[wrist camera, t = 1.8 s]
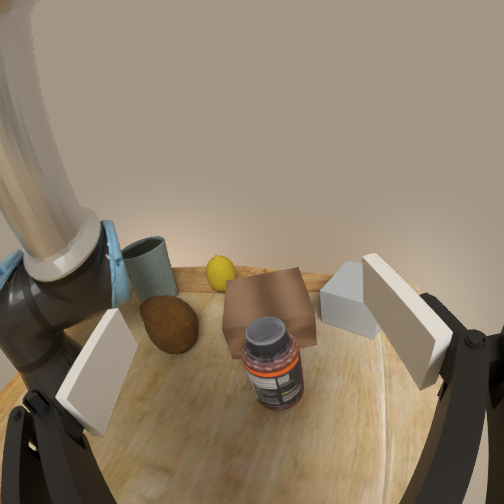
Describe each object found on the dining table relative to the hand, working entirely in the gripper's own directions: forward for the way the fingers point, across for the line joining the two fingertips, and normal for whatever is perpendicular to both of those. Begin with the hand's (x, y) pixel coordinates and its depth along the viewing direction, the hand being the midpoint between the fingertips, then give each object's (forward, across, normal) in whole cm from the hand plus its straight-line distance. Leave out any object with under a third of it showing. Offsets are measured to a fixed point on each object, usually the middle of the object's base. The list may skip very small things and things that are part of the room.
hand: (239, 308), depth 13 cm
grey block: (+21, +14, -20) cm, 32 cm away
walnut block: (+23, 0, -19) cm, 30 cm away
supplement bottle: (+10, 0, -20) cm, 23 cm away
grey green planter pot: (+37, -22, -18) cm, 47 cm away
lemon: (+35, -7, -19) cm, 40 cm away
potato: (+23, -15, -19) cm, 34 cm away
